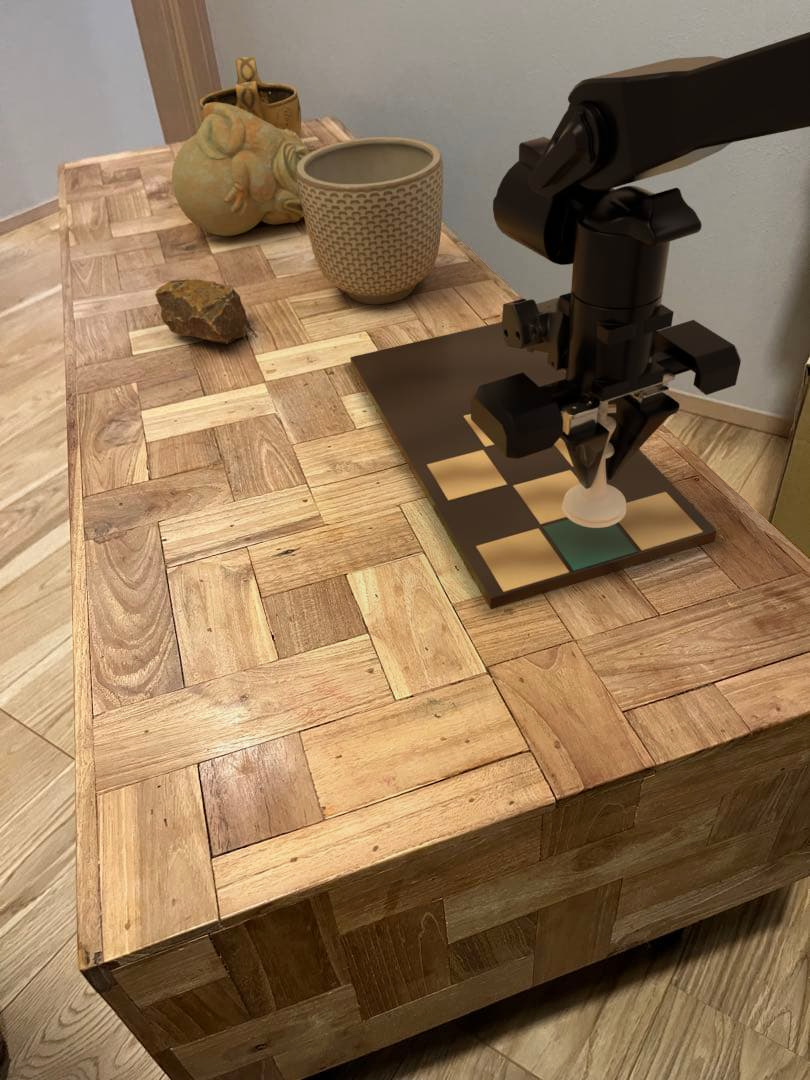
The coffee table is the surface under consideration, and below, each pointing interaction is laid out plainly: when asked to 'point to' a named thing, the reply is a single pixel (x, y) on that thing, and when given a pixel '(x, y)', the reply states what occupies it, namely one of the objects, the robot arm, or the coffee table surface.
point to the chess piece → (597, 488)
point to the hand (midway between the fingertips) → (596, 481)
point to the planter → (373, 214)
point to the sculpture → (238, 172)
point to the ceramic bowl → (260, 98)
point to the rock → (202, 310)
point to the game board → (512, 473)
